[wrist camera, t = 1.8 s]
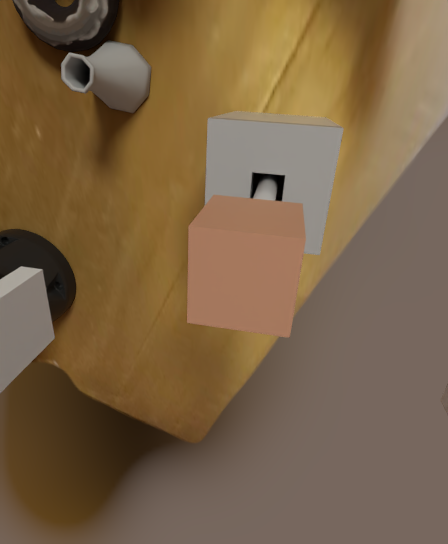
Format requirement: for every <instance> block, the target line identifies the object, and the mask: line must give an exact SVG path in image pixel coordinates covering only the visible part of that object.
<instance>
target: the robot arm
mask: <svg viewBox="0 0 448 544" xmlns="http://www.w3.org/2000/svg"><path fill="white" fill-rule="evenodd" d="M75 292H76V284H75V278H74V274H73V272H72V269H71V267H70V265H69V263H68V261H67V260H66V258H65V257H64V256H63V254H62V253H61V252H60V251H59V250H58V249H57V248H56V247H55V246H54V245H53V244H52V243H50V242H49V241H48V240H46V239H45V238H43V237H41V236H39V235H37V234H35V233H32V232H29V231H26V230H20V229H9V230H4V231H1V232H0V393H1V392H2V391H3V390H4V389H5V388H6V387H7V386H8V385H9V384H10V383H11V382H12V381H13V380H14V379H15V378H16V377H17V376H18V375H19V374H20V373H21V372H22V371H23V370H24V369H25V368H26V367H27V366H28V364H30V363H31V362H32V361H33V360H34V359H35V358H36V357H37V356H38V355H39V354H40V353H41V352H42V351H43V350H44V348H45V347H46V346H47V345H48V344H49V343H50V342H51V341H52V340H53V339H54V338H55V336H54V331H53V325H52V322H53V321H54V320H56V319H58V318H59V317H60V316H61V315H62V314H63V313H64V312H65V311H66V310H67V309H68V308H69V307H70V306H71V304H72V302H73V300H74V297H75ZM441 402H442V404H443V406H444V408H445V410H446V413H447V414H448V384H447V387H446V389H445V391H444V394H443V396H442V399H441Z"/></svg>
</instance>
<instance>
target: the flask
mask: <svg viewBox="0 0 448 544" xmlns="http://www.w3.org/2000/svg"><path fill="white" fill-rule="evenodd" d="M150 77H151V66H150V65H149V64H148V63H147V61H146V60H145V59H144V58H143V57H142V56H141V54H140V53H139V52H138V51H137V50H136V48H135V47H134V46H133V45H129V44H124V43H119V42H114V41H110V40H108V41H106V42H105V43H104V44H103V45H102V46H101V47H100V48H99V49H98V50H97V51H96V52H94V53H93V54H92V55H91V56H89V57H85V56H84V55H79V54H74V53H68V55H67V56H66V57H65V59H64V60H63V62H62V63H61V79H62V80H63V81H64V83H65V84H66V85H67V86H68V87H69V88H70V89H71V90H72V91H77V92H81V93H87V92H88V91H89V90H90V91H92V92H93V93H94V94H95V95H97V96H98V97H99V98H100V99H101V100H102V101H103V102H104V103H105V104H106V105H107V106H108V107H109V108H111V109H116V110H121V111H125V112H130V113H134V112H135V111H136V110H137V108H138V107H139V106H140V105H141V104H142V103H143V101H144V100H145V99H146V98H147V97H148V96H149V89H150Z"/></svg>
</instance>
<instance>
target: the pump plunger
mask: <svg viewBox="0 0 448 544" xmlns="http://www.w3.org/2000/svg"><path fill="white" fill-rule="evenodd" d="M277 187H278V177H277V176H276V174H263V175H262V177H261V179H260V181H259V184H258V187H257V189H256V192H255V195H254V197H253V198H243V197H232V196H222V195H213V196H212V197H211V199H210V200H209V201H208V202H207V204H206V205H205V206H204V207H203V209H202V210H201V211H200V212H199V214H198V215H197V216H196V217H195V219H194V220H193V221H192V222H191V224H190V225H189V237H188V302H187V323H192V324H199V325H206V326H213V327H220V328H227V329H234V330H240V331H247V332H254V333H261V334H268V335H275V336H282V337H290V332H291V326H292V320H293V314H294V308H295V302H296V296H297V290H298V284H299V278H300V272H301V266H302V260H303V254H304V248H305V242H306V234H305V224H304V214H303V204H302V203H293V202H283V201H275V200H276V194H277Z"/></svg>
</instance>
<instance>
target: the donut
mask: <svg viewBox="0 0 448 544" xmlns="http://www.w3.org/2000/svg"><path fill="white" fill-rule="evenodd" d="M13 3H14V6H15V8H16V10H17V12H18V13H19V15H20V16H21V18H22V19H23V21H24V23H25V24H26V26H27V27H28V28H29V29H30V30H31V31H32V32H33V33H34V34H35V35H36V36H37V37H38V38H39V39H40V40H42V41H44V42H45V43H47V44H49V45H51V46H52V47H54V48H56V49H59V50H64V51H69V52H76V51H82V50H88V49H90V48H92V47H93V46H95V45H97V44H99V43H100V42H101V41H102V40H103V39H104V38H105V36H106V35H107V34H108V33H109V32H110V30H111V28H112V26H113V23H114V21H115V19H116V16H117V11H118V5H119V0H74V2H73V3H72V4H71V5H70V6H68V7H61V6H60V5H58V4H57V3H56V2H55V0H13Z"/></svg>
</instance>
